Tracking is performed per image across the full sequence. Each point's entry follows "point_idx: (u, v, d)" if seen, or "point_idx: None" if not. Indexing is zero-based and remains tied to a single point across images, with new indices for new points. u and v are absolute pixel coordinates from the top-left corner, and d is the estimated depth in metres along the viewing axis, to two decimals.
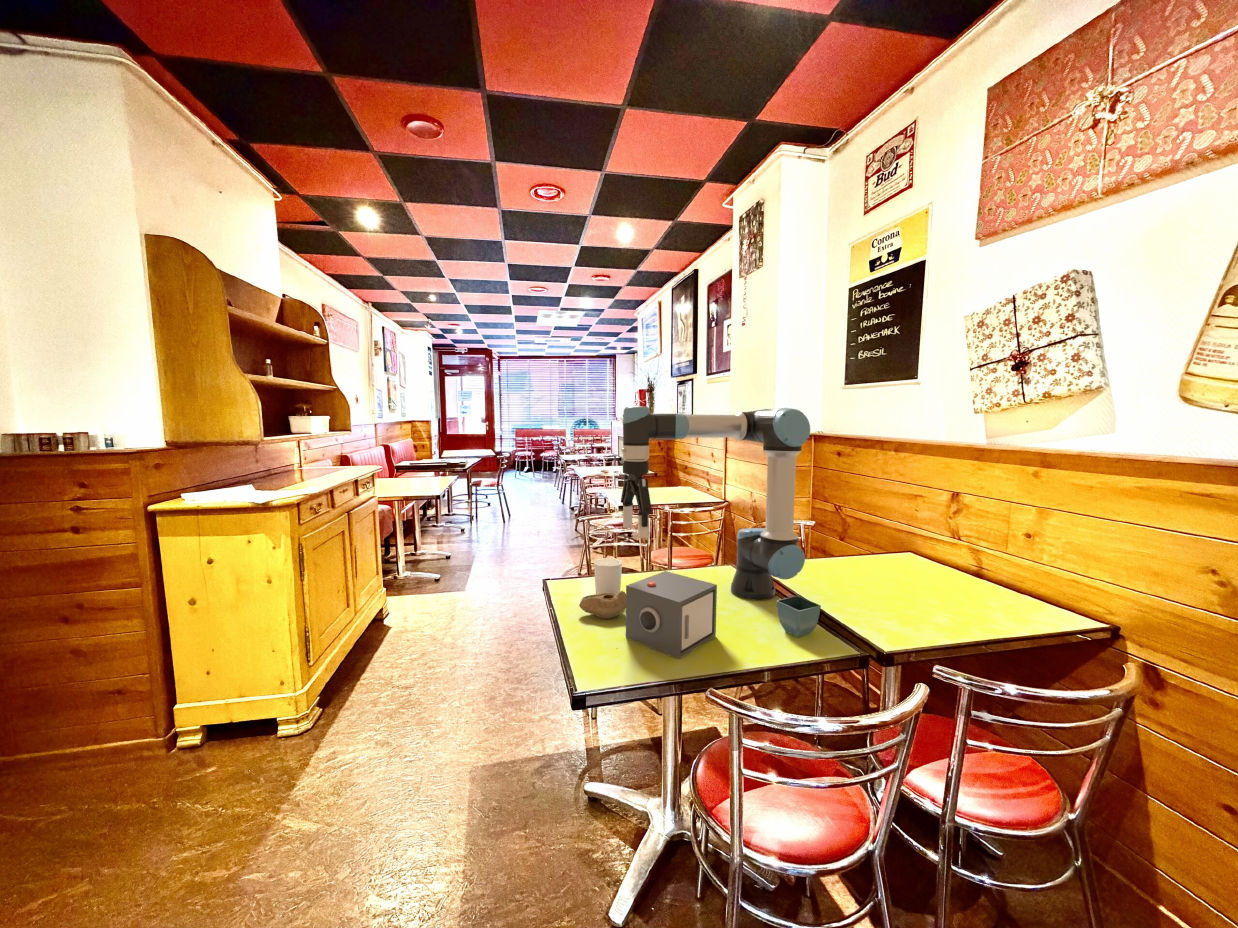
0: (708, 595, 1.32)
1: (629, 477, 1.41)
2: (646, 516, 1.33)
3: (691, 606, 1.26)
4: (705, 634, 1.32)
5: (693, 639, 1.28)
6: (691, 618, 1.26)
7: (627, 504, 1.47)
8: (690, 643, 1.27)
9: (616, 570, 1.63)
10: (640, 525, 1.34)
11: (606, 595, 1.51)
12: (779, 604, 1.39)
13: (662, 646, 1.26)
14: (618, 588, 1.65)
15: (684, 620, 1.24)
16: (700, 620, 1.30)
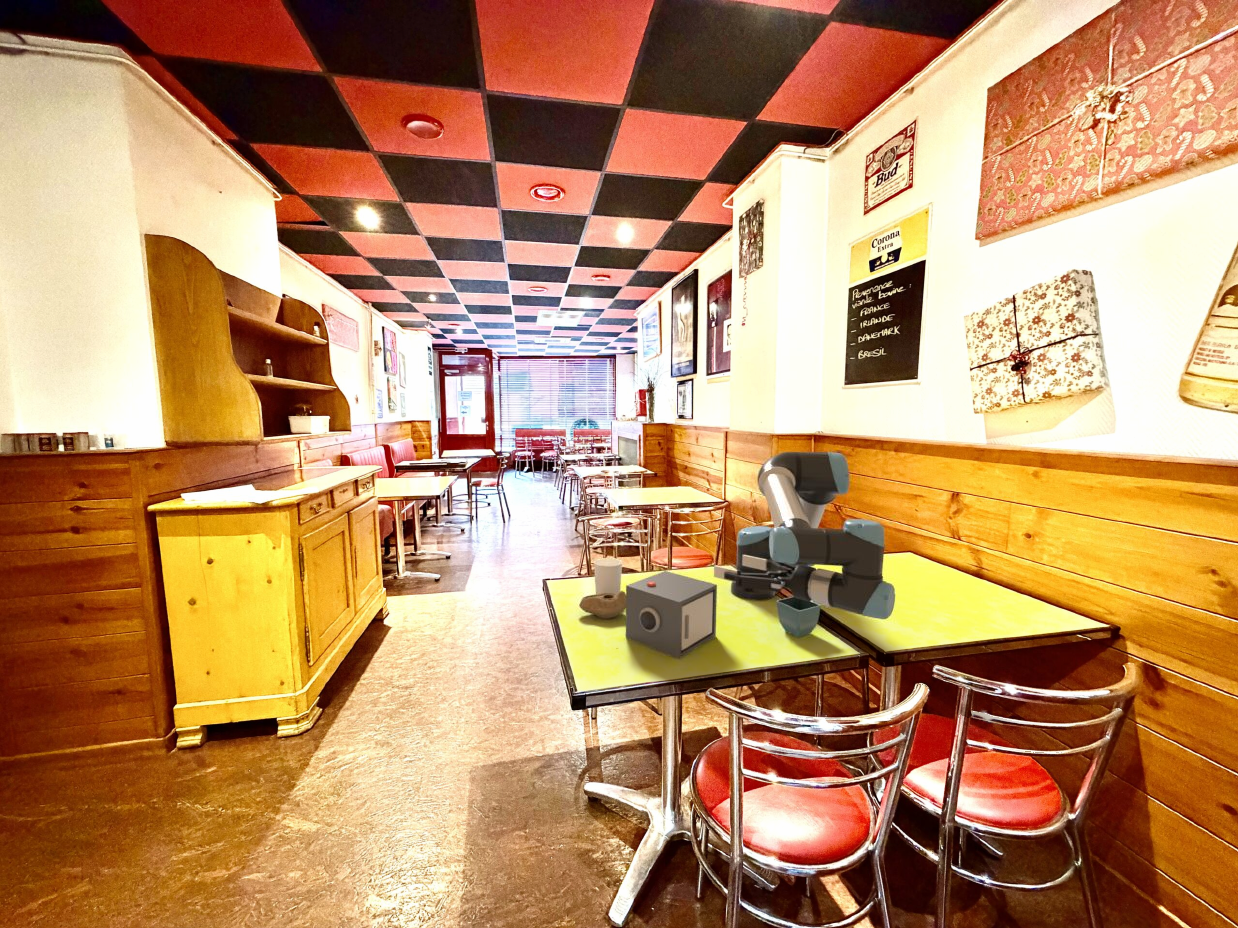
0: (708, 595, 1.32)
1: None
2: None
3: (691, 606, 1.26)
4: (705, 634, 1.32)
5: (693, 639, 1.28)
6: (691, 618, 1.26)
7: None
8: (690, 643, 1.27)
9: (616, 570, 1.63)
10: None
11: (606, 595, 1.51)
12: (779, 604, 1.39)
13: (662, 646, 1.26)
14: (618, 588, 1.65)
15: (684, 620, 1.24)
16: (700, 620, 1.30)
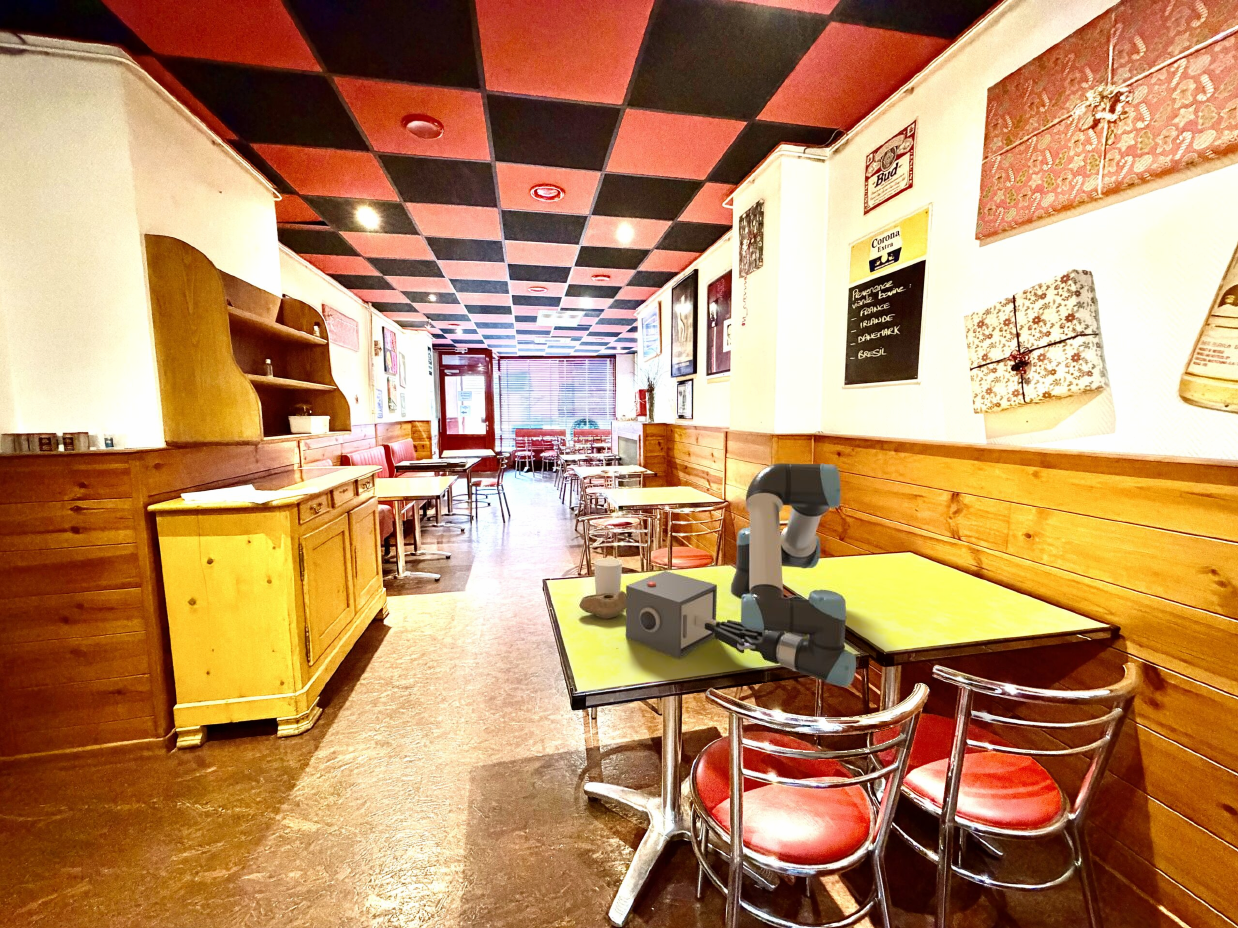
0: (708, 595, 1.32)
1: None
2: None
3: (690, 606, 1.27)
4: (704, 634, 1.32)
5: (692, 639, 1.28)
6: (689, 618, 1.27)
7: None
8: (688, 642, 1.27)
9: (616, 570, 1.63)
10: None
11: (606, 595, 1.51)
12: None
13: (662, 646, 1.26)
14: (618, 588, 1.65)
15: (682, 619, 1.25)
16: None
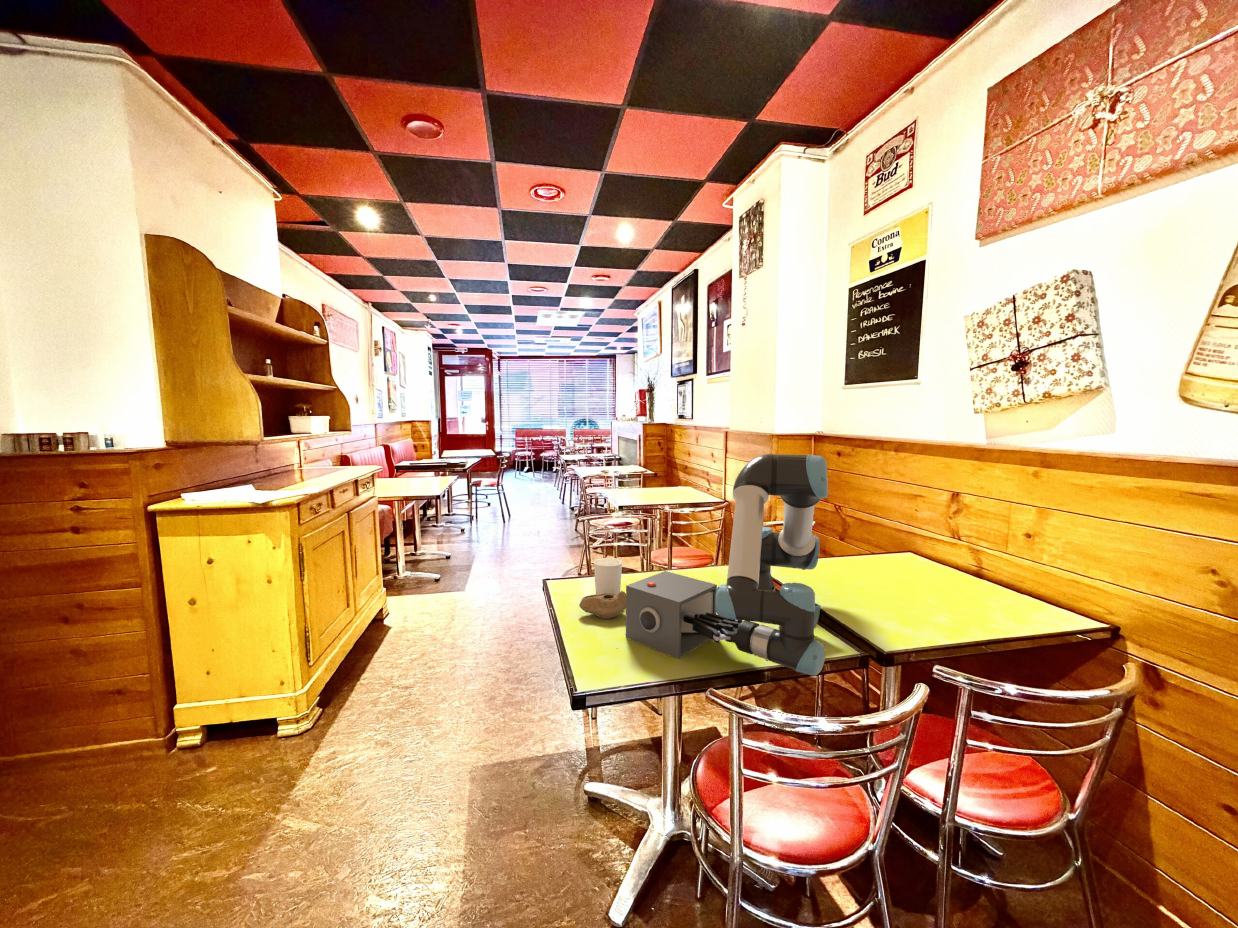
0: None
1: None
2: None
3: None
4: None
5: None
6: None
7: None
8: None
9: (616, 570, 1.63)
10: None
11: (606, 595, 1.51)
12: None
13: (662, 646, 1.26)
14: (618, 588, 1.65)
15: None
16: None
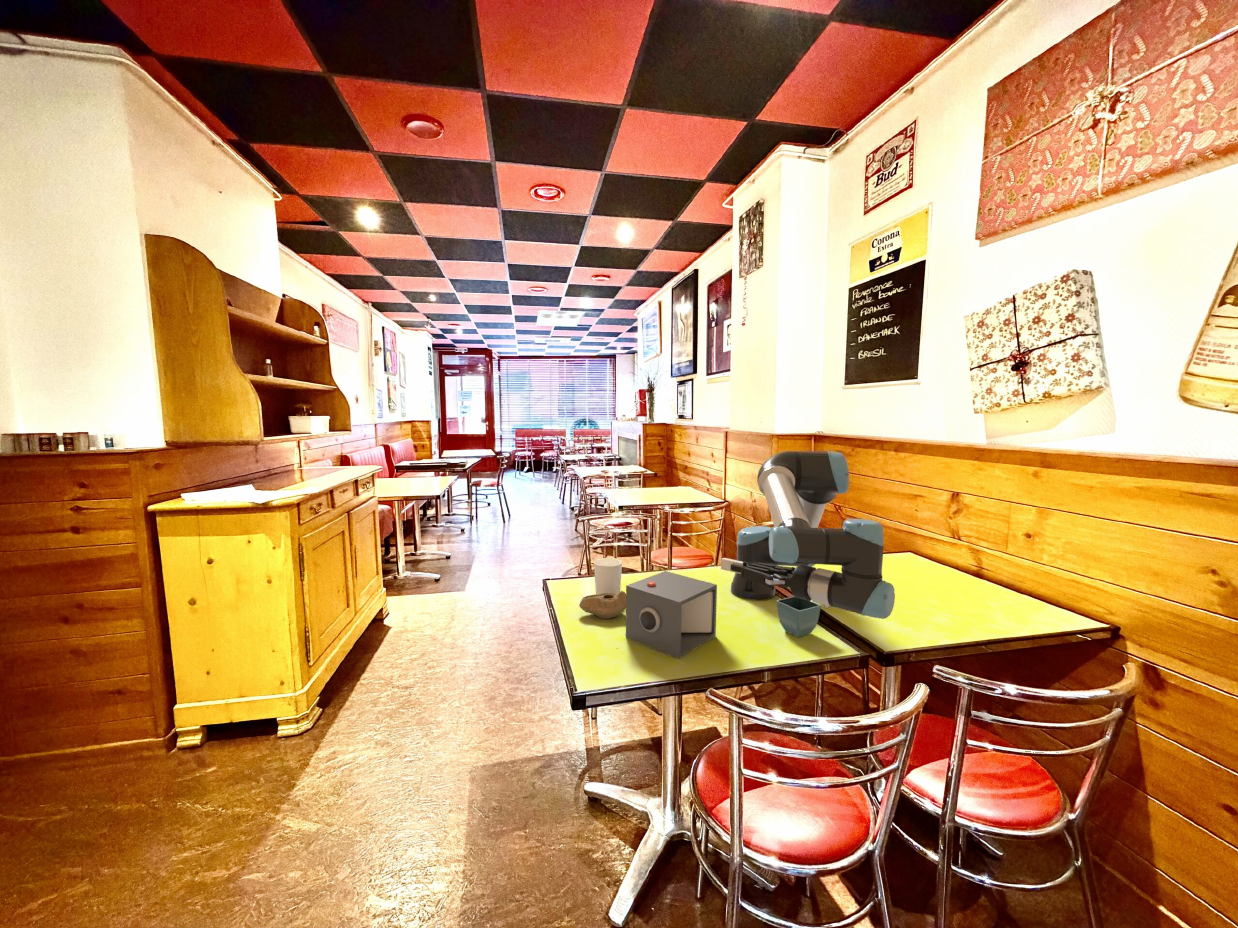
0: None
1: None
2: None
3: None
4: (698, 630, 1.35)
5: None
6: None
7: None
8: None
9: (616, 570, 1.63)
10: None
11: (606, 595, 1.51)
12: (779, 604, 1.39)
13: (662, 646, 1.26)
14: (618, 588, 1.65)
15: None
16: (689, 614, 1.34)
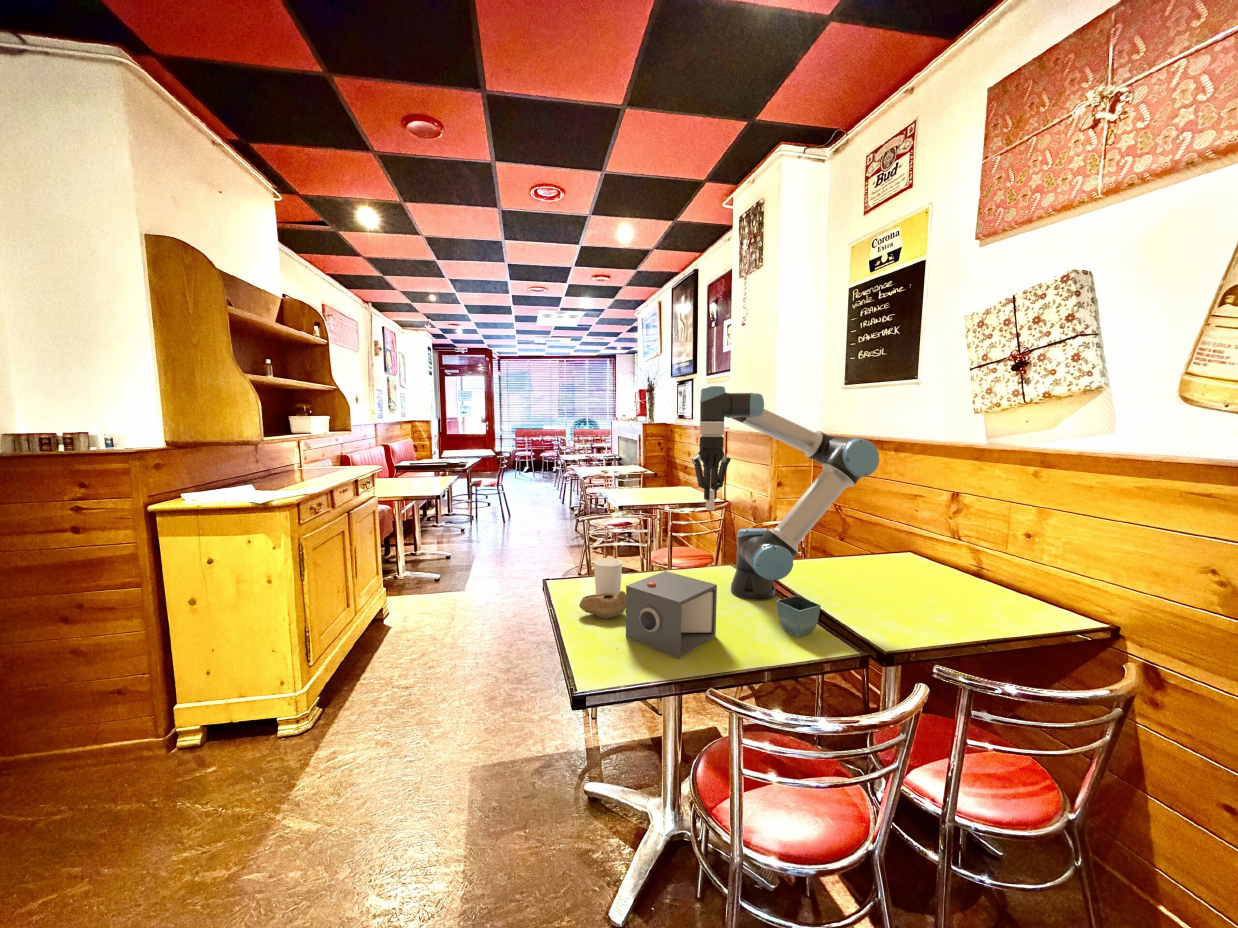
0: None
1: None
2: (705, 490, 1.52)
3: None
4: (698, 630, 1.35)
5: None
6: None
7: (712, 487, 1.53)
8: None
9: (616, 570, 1.63)
10: None
11: (606, 595, 1.51)
12: (779, 604, 1.39)
13: (662, 646, 1.26)
14: (618, 588, 1.65)
15: None
16: (689, 614, 1.34)
